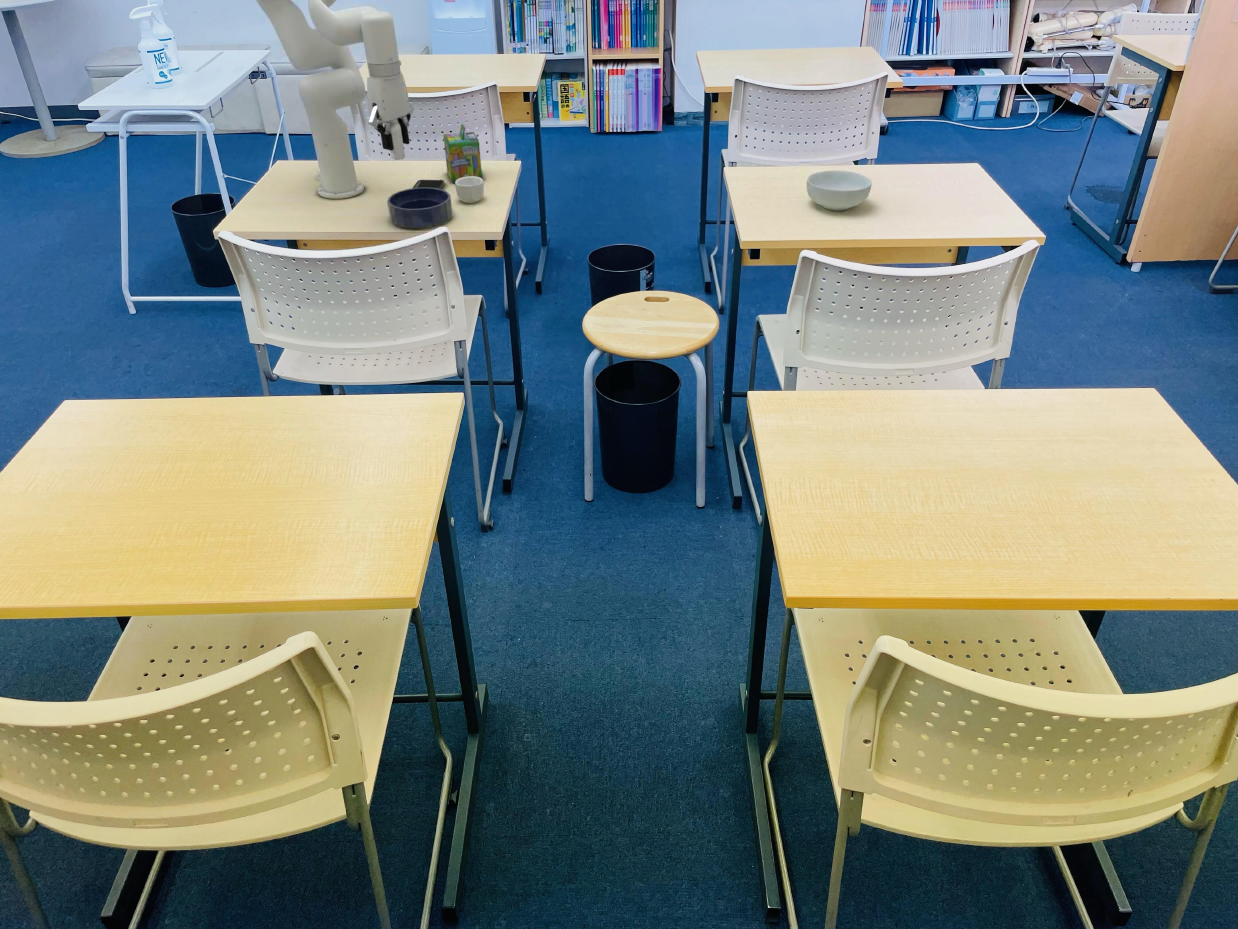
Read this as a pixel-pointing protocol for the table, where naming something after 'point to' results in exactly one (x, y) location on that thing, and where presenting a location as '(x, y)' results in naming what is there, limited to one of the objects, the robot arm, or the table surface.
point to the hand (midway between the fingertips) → (396, 145)
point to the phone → (430, 184)
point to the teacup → (469, 189)
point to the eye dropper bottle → (396, 140)
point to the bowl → (420, 207)
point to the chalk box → (462, 155)
